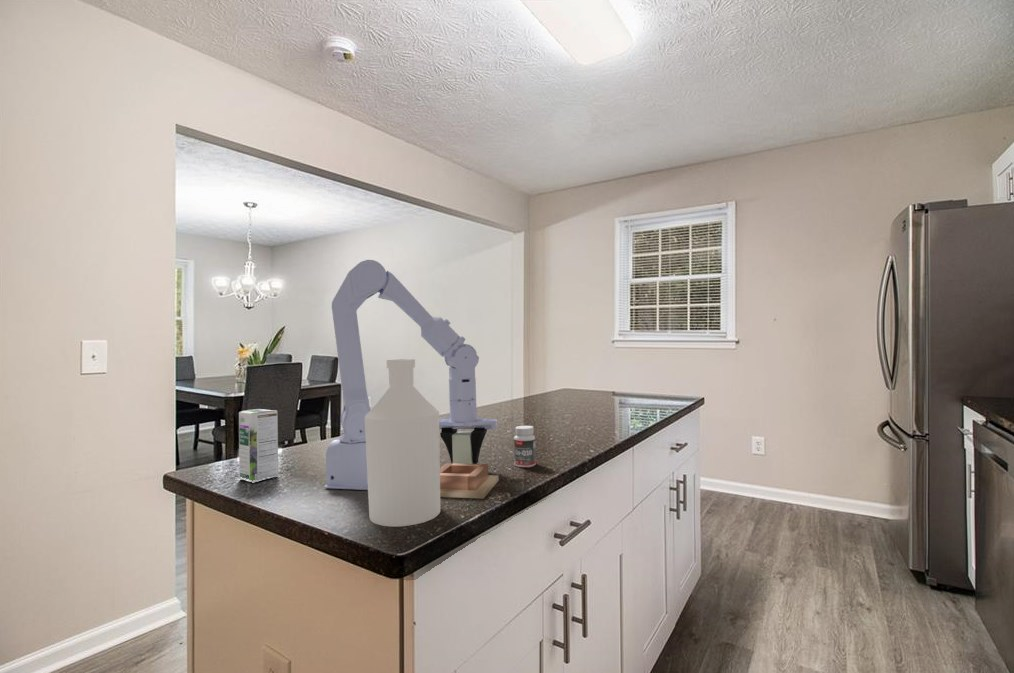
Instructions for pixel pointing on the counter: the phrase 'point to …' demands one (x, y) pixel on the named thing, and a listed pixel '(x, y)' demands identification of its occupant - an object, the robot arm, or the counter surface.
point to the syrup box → (258, 444)
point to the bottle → (402, 453)
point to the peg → (462, 448)
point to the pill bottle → (524, 447)
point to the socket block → (466, 480)
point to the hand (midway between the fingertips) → (464, 463)
